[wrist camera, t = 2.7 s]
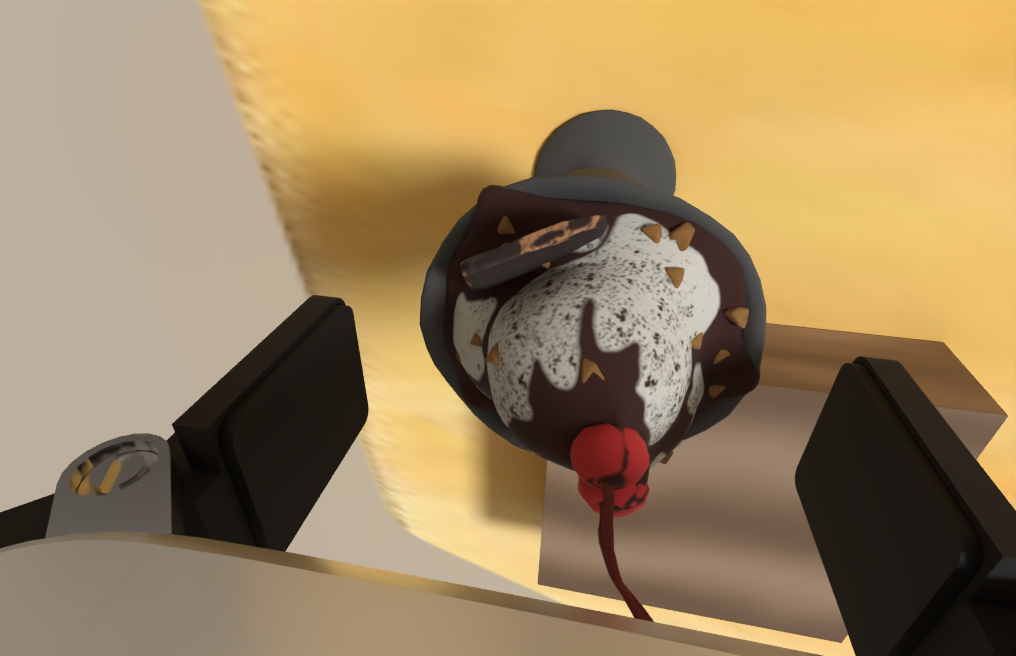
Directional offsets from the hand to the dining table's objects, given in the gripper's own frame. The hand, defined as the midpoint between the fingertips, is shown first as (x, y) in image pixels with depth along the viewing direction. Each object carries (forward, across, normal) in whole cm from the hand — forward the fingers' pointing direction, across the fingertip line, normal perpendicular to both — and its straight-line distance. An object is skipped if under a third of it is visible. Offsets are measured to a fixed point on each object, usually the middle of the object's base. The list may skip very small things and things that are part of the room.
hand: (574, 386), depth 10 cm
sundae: (+11, 0, -1) cm, 11 cm away
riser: (+11, -6, +11) cm, 17 cm away
